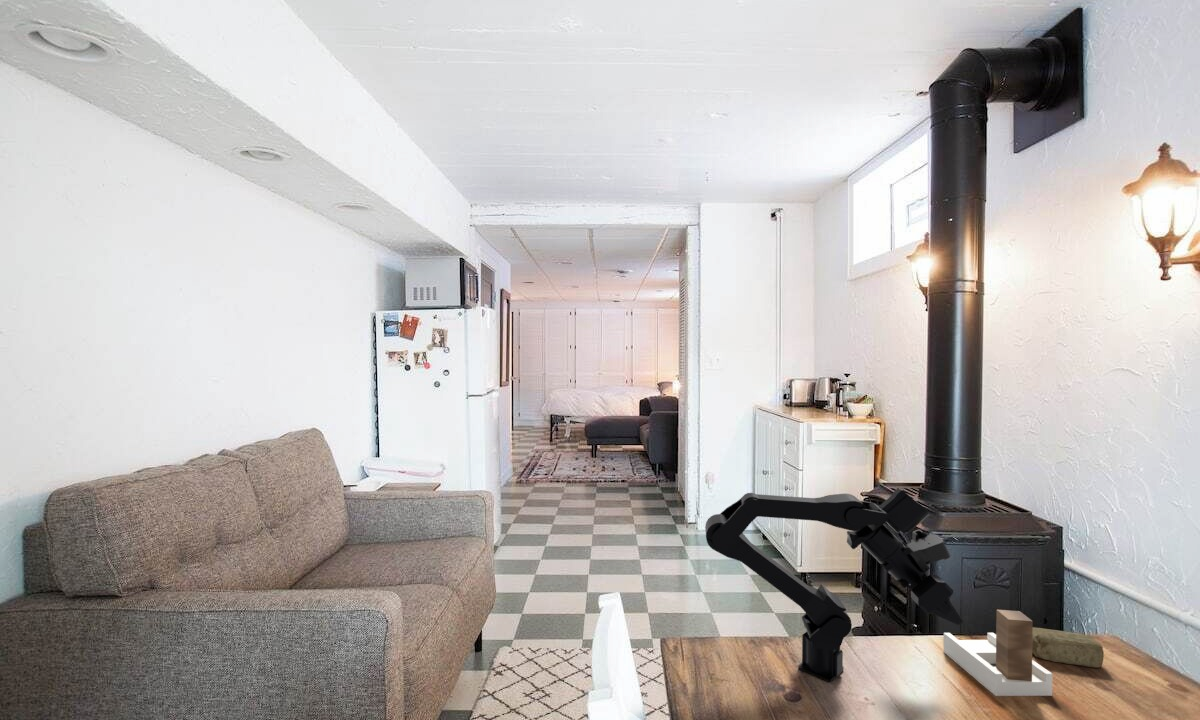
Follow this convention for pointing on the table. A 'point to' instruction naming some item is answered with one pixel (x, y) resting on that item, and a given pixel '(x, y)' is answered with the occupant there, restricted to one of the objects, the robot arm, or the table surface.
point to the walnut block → (1014, 645)
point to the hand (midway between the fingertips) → (948, 611)
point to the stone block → (1066, 647)
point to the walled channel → (994, 668)
